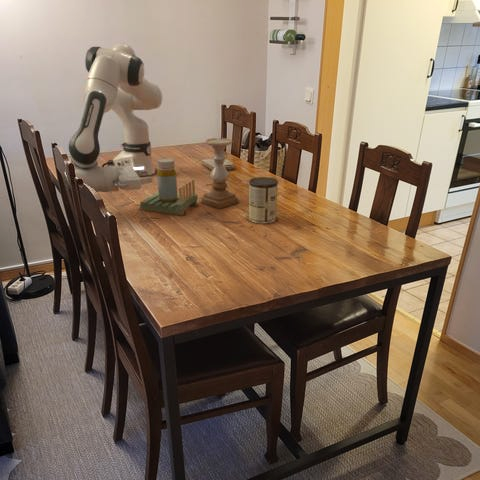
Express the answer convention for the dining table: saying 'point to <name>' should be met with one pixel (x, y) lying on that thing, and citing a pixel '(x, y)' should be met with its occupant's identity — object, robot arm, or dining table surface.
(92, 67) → the robot arm
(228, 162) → the washcloth
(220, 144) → the candle holder
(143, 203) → the rack
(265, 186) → the coffee can
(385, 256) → the dining table surface
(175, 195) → the bottle
